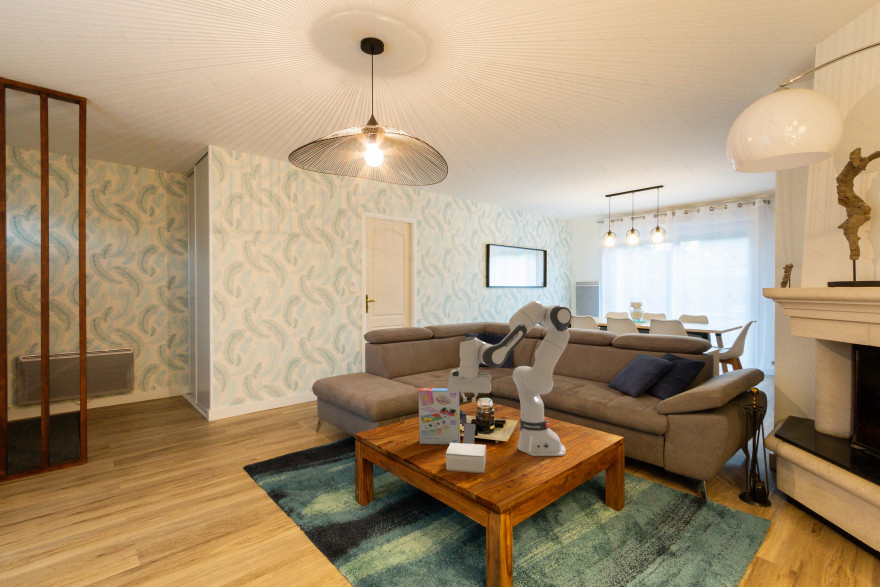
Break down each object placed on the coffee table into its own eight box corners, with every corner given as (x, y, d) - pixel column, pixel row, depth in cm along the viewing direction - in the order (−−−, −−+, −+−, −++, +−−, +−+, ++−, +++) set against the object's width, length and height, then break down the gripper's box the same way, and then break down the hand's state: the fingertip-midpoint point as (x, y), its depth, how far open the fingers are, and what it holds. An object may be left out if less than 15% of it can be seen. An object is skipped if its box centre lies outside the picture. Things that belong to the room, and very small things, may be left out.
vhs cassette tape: (450, 422, 238) (450, 405, 238) (455, 422, 239) (455, 405, 238) (461, 432, 220) (461, 414, 220) (466, 432, 221) (466, 413, 221)
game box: (460, 441, 208) (459, 388, 207) (459, 445, 202) (459, 390, 202) (420, 440, 210) (419, 387, 210) (418, 444, 204) (417, 390, 204)
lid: (487, 443, 190) (487, 424, 190) (483, 461, 170) (483, 440, 170) (453, 441, 193) (453, 422, 193) (445, 458, 173) (445, 437, 173)
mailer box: (485, 461, 182) (485, 446, 182) (483, 473, 171) (483, 456, 171) (450, 459, 186) (450, 443, 186) (446, 470, 174) (446, 454, 174)
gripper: (492, 371, 191) (492, 400, 191) (449, 370, 195) (449, 398, 195) (491, 374, 184) (491, 404, 184) (446, 372, 188) (447, 402, 188)
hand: (469, 401), depth 190 cm, fingers open, 3 cm apart
